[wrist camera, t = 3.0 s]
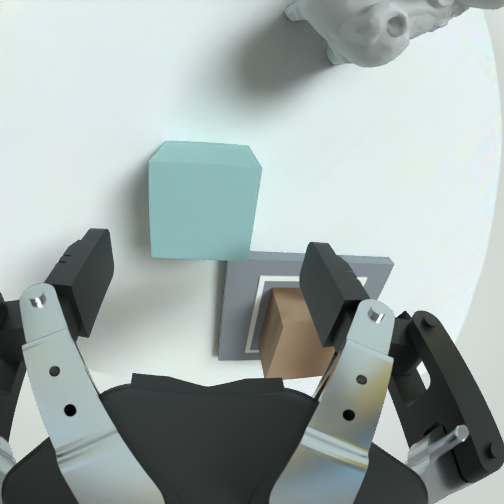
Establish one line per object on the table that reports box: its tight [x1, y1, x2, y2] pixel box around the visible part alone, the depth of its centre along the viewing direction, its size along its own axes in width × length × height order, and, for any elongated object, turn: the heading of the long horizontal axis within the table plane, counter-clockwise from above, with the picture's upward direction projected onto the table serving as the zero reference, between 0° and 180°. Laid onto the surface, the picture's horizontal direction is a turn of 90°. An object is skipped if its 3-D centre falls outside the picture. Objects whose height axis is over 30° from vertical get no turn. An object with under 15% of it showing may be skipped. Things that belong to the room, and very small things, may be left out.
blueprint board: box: [218, 251, 394, 360], centre depth 24 cm, size 14×12×1 cm
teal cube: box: [148, 141, 262, 261], centre depth 15 cm, size 5×5×5 cm
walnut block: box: [258, 287, 335, 380], centre depth 22 cm, size 7×7×4 cm
